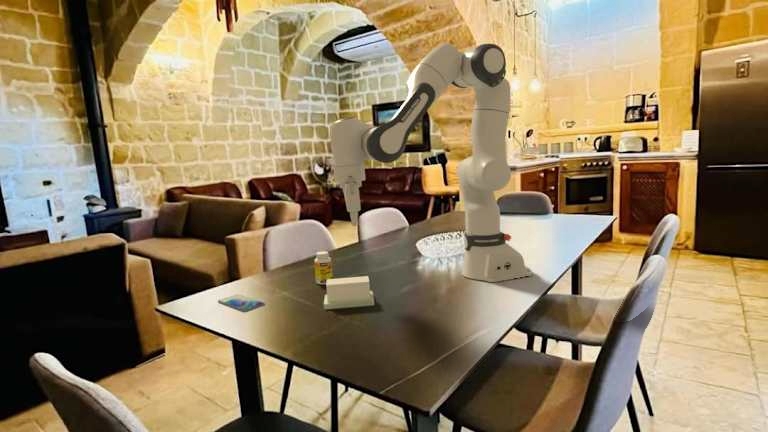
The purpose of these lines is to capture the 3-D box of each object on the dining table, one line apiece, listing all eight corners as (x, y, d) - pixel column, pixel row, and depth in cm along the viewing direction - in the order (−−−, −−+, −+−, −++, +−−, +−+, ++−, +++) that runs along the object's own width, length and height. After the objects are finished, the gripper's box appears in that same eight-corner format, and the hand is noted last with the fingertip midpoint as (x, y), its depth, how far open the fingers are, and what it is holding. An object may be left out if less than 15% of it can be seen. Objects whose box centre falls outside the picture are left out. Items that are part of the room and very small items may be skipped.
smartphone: (238, 294, 133) (266, 303, 124) (238, 296, 133) (266, 306, 124) (216, 300, 128) (244, 310, 118) (217, 303, 128) (244, 313, 118)
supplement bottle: (320, 286, 138) (317, 255, 136) (313, 282, 142) (310, 252, 141) (335, 282, 141) (333, 252, 139) (328, 278, 145) (326, 249, 144)
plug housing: (369, 292, 124) (368, 276, 123) (370, 298, 119) (369, 281, 119) (328, 295, 123) (326, 279, 122) (327, 302, 118) (326, 285, 118)
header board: (372, 295, 126) (371, 279, 125) (374, 305, 118) (373, 288, 118) (325, 299, 125) (324, 283, 124) (324, 309, 117) (322, 292, 116)
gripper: (362, 176, 111) (367, 228, 113) (358, 172, 131) (363, 216, 134) (338, 178, 111) (344, 230, 113) (338, 174, 131) (343, 218, 133)
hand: (354, 222), depth 123 cm, fingers open, 8 cm apart
